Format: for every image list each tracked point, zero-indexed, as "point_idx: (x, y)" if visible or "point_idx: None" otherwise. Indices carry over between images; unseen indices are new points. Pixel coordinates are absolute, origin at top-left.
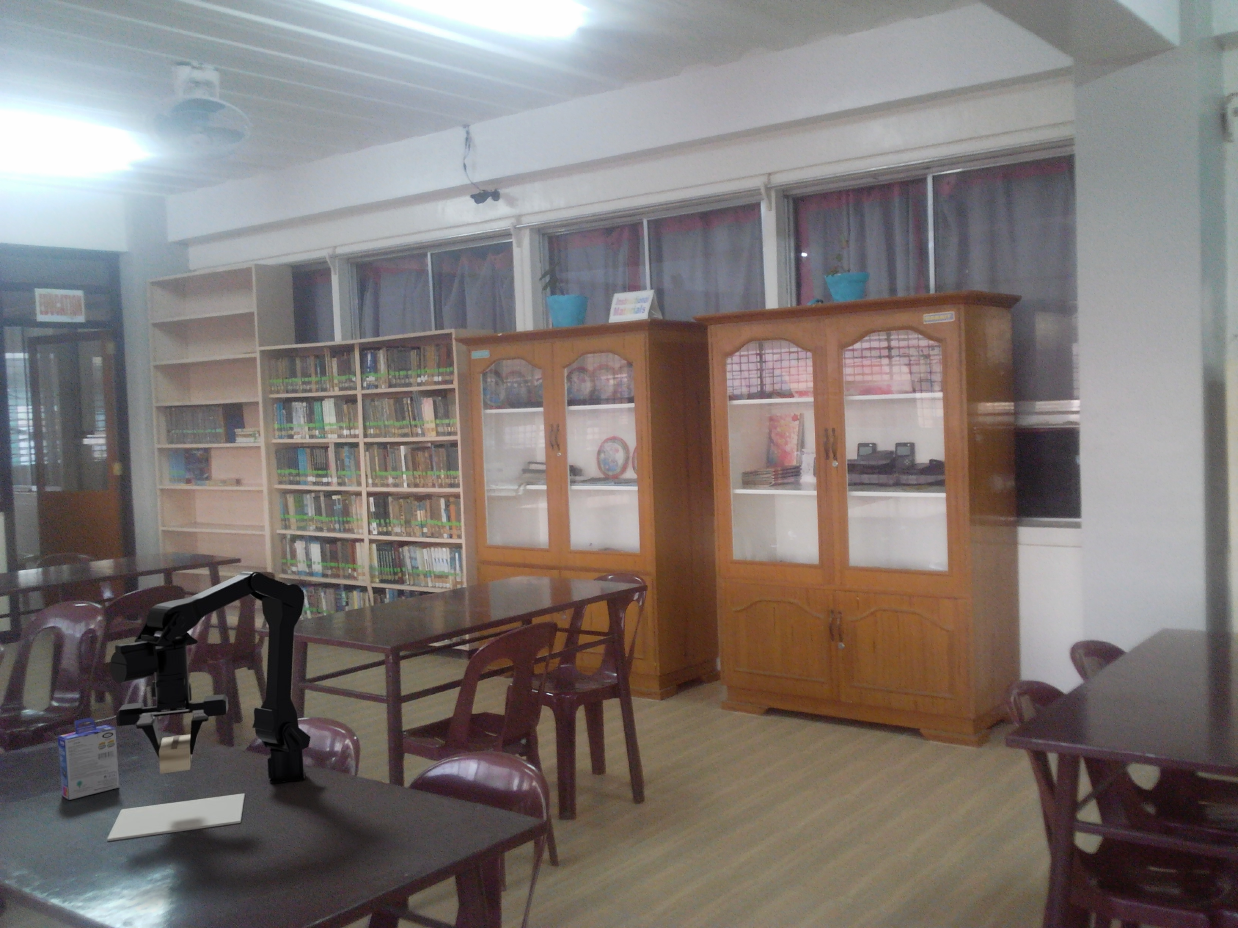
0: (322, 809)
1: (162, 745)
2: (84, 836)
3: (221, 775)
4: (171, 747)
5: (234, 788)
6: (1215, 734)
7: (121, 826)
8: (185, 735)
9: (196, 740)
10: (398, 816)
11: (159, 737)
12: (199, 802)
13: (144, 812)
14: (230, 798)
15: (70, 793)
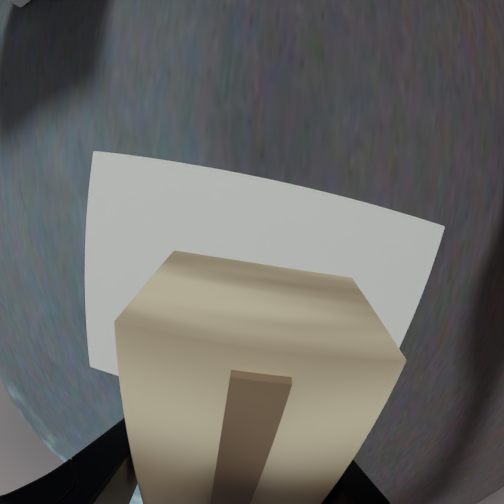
0: (482, 401)
1: (151, 491)
2: (43, 303)
3: None
4: None
5: (433, 133)
6: None
7: (103, 308)
8: (350, 377)
9: (368, 478)
10: (500, 446)
11: (109, 484)
12: (320, 229)
13: (151, 224)
14: (404, 249)
15: (14, 2)
